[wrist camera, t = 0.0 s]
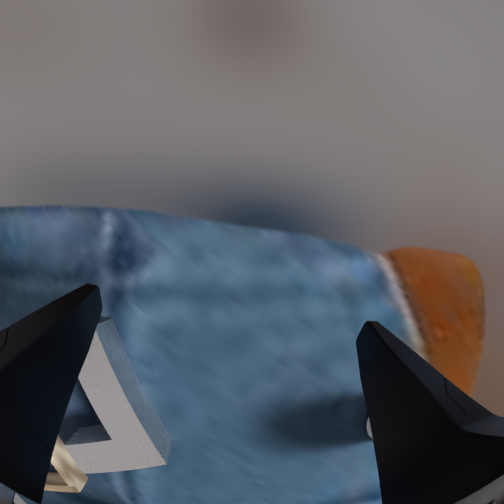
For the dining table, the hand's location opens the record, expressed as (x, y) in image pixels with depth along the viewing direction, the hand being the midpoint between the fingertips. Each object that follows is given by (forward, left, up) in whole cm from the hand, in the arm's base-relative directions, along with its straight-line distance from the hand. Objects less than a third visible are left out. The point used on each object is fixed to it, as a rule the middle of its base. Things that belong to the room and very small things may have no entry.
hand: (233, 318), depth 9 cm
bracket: (-5, +15, -15) cm, 22 cm away
